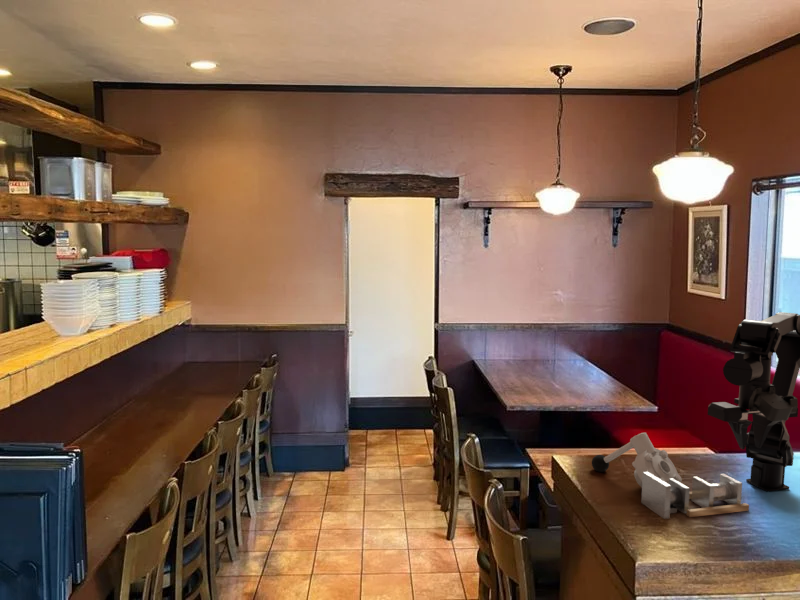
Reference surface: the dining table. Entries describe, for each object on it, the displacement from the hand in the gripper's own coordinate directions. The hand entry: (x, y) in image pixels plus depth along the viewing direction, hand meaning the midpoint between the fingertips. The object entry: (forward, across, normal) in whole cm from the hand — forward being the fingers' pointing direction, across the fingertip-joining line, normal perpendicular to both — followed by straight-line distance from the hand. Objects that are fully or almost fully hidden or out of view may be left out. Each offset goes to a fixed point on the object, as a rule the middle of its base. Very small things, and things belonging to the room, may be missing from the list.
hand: (750, 447), depth 142 cm
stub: (+12, -20, 0) cm, 24 cm away
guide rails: (+12, -11, 0) cm, 16 cm away
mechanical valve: (+12, -19, +15) cm, 27 cm away
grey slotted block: (+12, -8, 0) cm, 15 cm away
